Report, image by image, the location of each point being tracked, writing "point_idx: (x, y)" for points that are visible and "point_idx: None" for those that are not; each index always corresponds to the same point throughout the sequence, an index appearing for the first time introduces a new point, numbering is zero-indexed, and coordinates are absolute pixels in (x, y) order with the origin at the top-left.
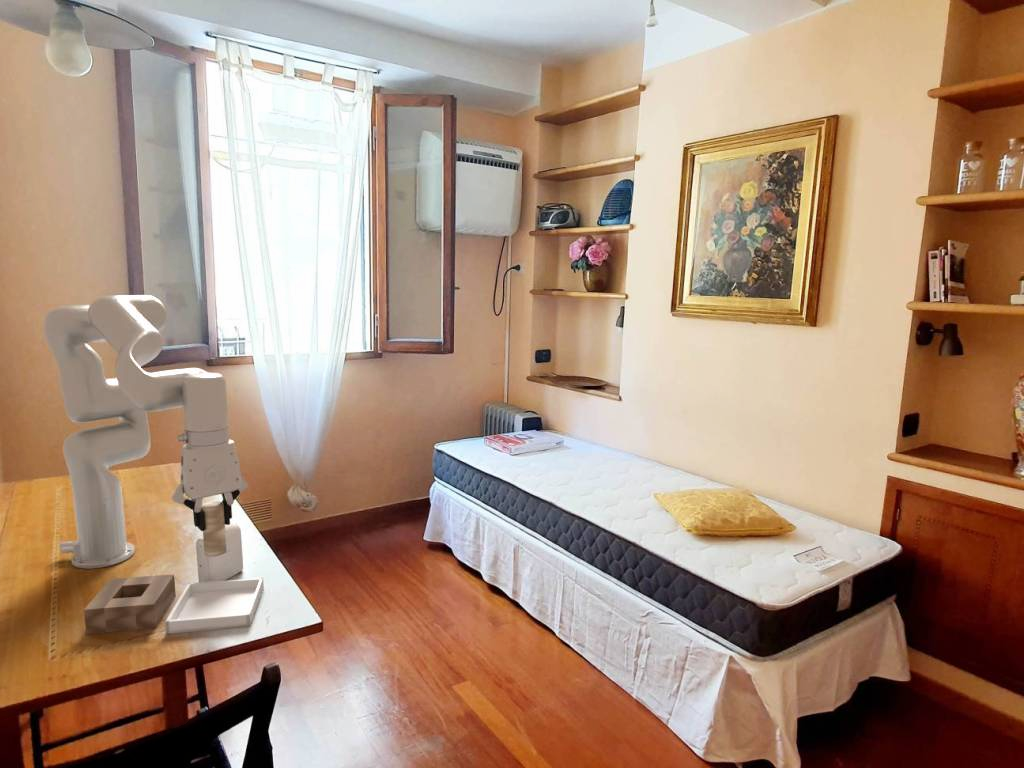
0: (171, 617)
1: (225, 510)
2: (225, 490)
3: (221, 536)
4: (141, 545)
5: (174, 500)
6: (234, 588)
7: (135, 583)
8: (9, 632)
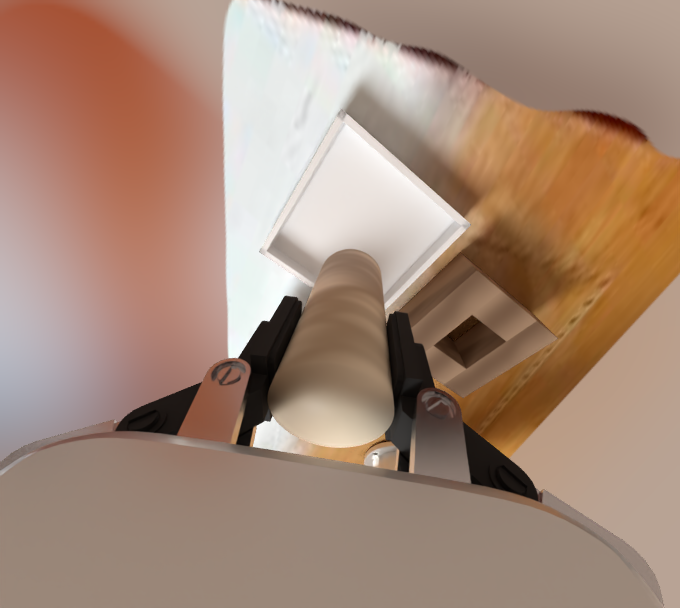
0: (451, 235)
1: (279, 343)
2: (197, 469)
3: (334, 274)
4: (353, 457)
5: (637, 557)
6: (310, 273)
7: (448, 361)
8: (577, 383)
